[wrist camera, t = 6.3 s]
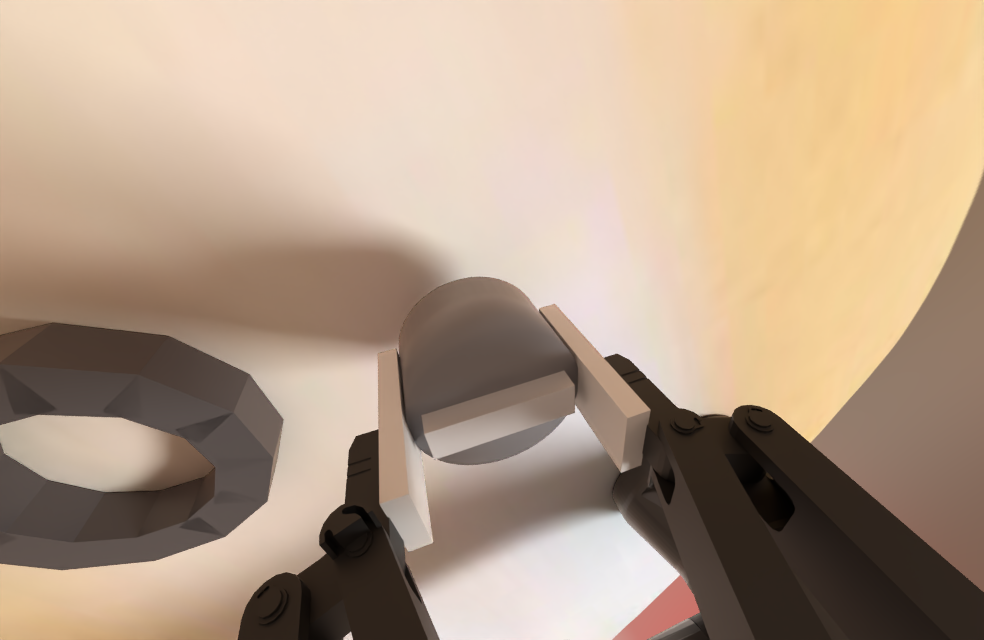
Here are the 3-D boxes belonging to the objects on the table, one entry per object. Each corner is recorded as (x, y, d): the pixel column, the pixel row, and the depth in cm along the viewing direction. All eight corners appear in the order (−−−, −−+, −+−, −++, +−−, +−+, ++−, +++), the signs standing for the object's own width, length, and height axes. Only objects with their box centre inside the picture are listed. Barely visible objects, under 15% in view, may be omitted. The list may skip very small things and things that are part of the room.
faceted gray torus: (186, 291, 14) (157, 324, 12) (319, 467, 22) (314, 505, 20) (-220, 386, 12) (-336, 445, 10) (83, 544, 20) (51, 596, 18)
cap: (533, 260, 14) (593, 320, 10) (541, 372, 18) (588, 448, 14) (377, 300, 13) (380, 383, 9) (420, 410, 17) (433, 503, 13)
